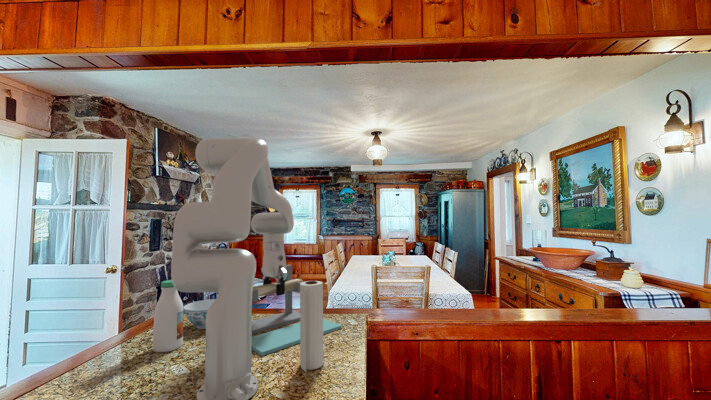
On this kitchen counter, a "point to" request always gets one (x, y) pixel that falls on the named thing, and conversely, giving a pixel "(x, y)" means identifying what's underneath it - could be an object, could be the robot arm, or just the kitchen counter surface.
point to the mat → (284, 338)
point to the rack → (278, 319)
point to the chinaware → (198, 312)
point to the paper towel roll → (311, 325)
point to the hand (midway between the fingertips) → (273, 292)
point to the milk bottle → (168, 319)
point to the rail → (271, 287)
